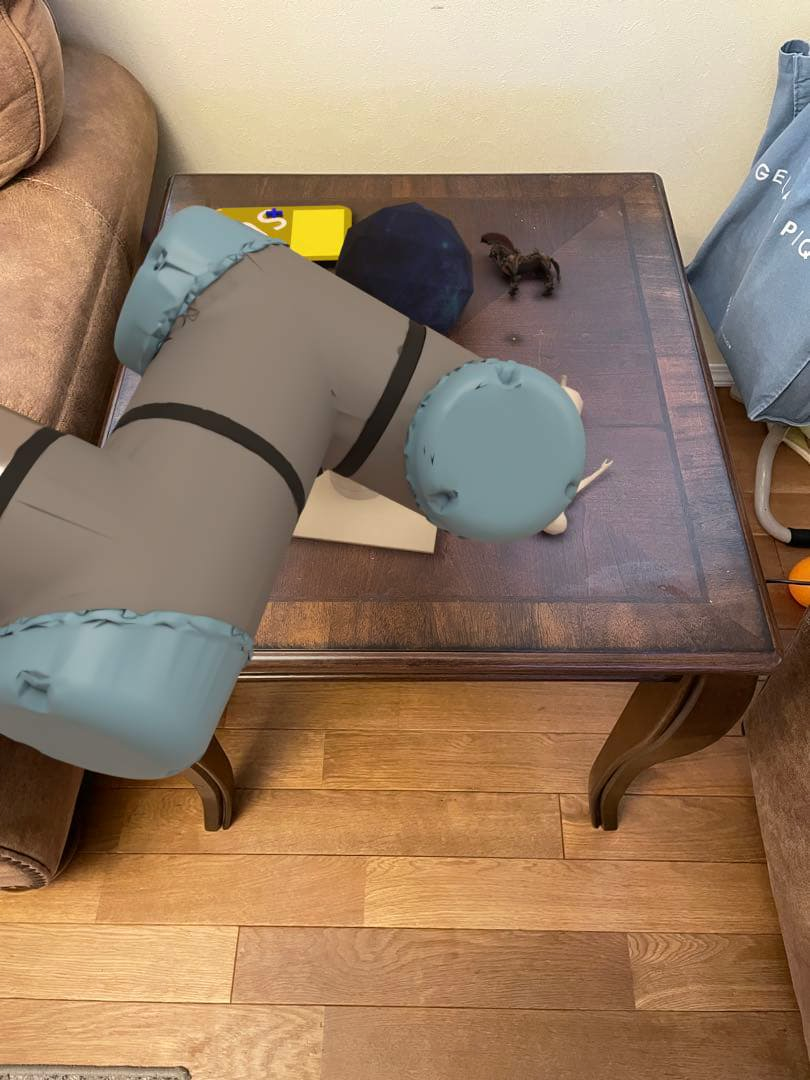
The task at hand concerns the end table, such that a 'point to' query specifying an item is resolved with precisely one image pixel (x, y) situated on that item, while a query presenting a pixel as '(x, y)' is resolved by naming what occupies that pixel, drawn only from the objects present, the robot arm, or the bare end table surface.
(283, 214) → the game console
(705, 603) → the end table surface
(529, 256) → the horse figurine
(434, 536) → the napkin
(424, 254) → the decorative orb
